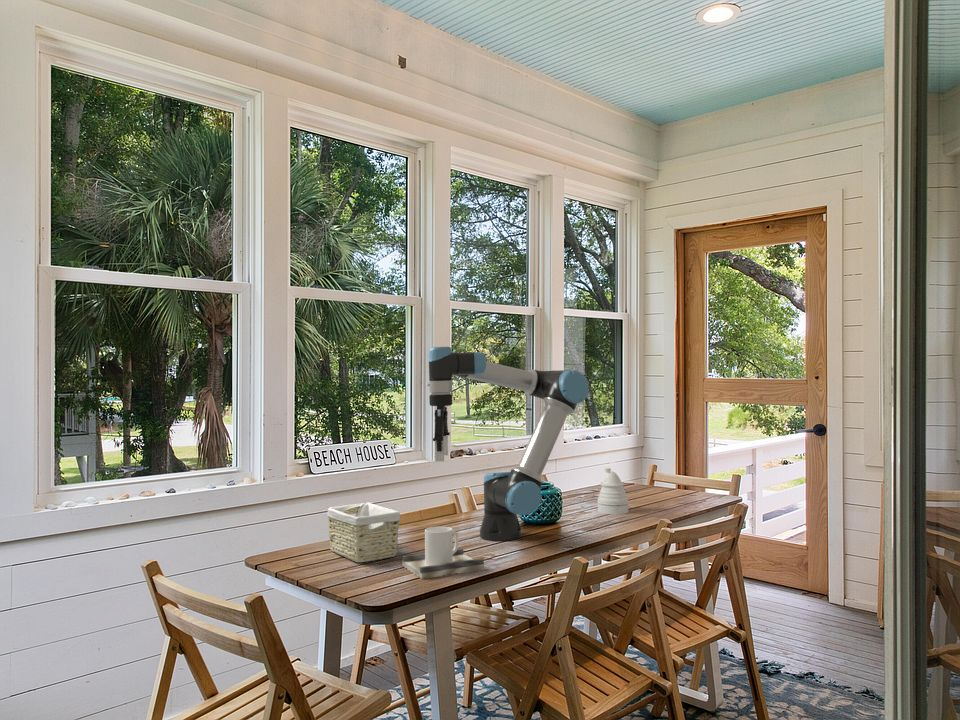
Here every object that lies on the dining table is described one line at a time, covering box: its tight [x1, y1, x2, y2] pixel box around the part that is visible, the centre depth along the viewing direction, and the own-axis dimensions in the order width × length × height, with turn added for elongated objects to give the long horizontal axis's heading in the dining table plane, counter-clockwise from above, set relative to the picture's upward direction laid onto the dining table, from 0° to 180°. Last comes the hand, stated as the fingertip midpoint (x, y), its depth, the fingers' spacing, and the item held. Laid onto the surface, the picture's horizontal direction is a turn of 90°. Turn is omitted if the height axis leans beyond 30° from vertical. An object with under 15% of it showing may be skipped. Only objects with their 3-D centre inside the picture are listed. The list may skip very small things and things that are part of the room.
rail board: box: [401, 548, 485, 580], centre depth 209 cm, size 20×16×3 cm
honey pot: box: [597, 467, 629, 515], centre depth 295 cm, size 13×13×18 cm
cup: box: [424, 526, 460, 566], centre depth 210 cm, size 8×12×10 cm
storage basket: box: [326, 502, 401, 563], centre depth 227 cm, size 24×16×15 cm
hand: (441, 458), depth 228 cm, fingers open, 13 cm apart
